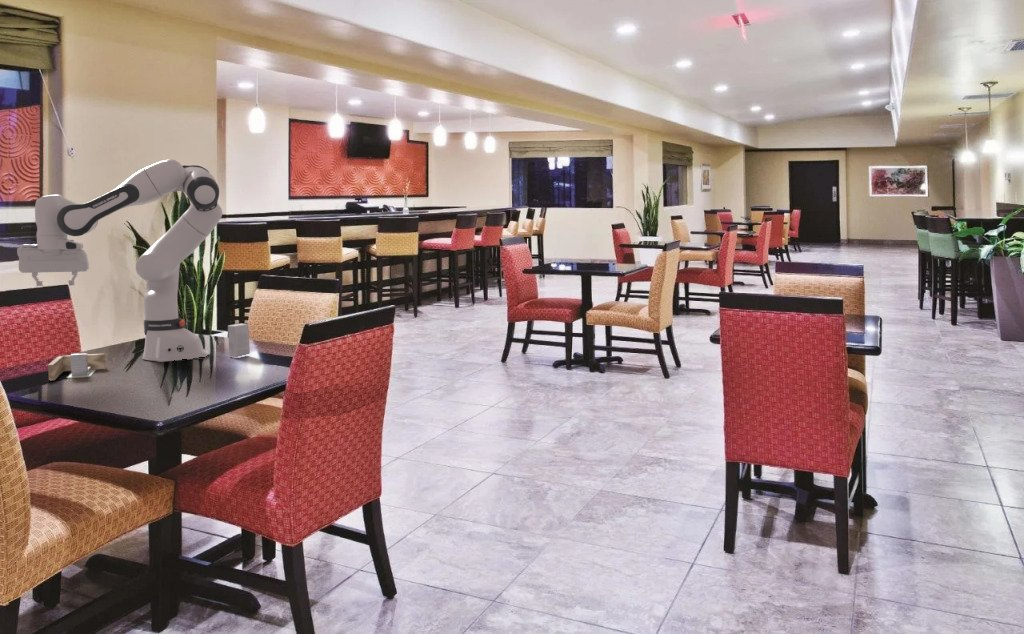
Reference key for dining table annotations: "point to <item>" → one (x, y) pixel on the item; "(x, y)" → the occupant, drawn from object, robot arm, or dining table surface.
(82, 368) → the bracket
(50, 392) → the dining table surface
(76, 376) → the pad
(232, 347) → the skincare box
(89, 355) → the tan bent bar
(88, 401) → the dining table surface
